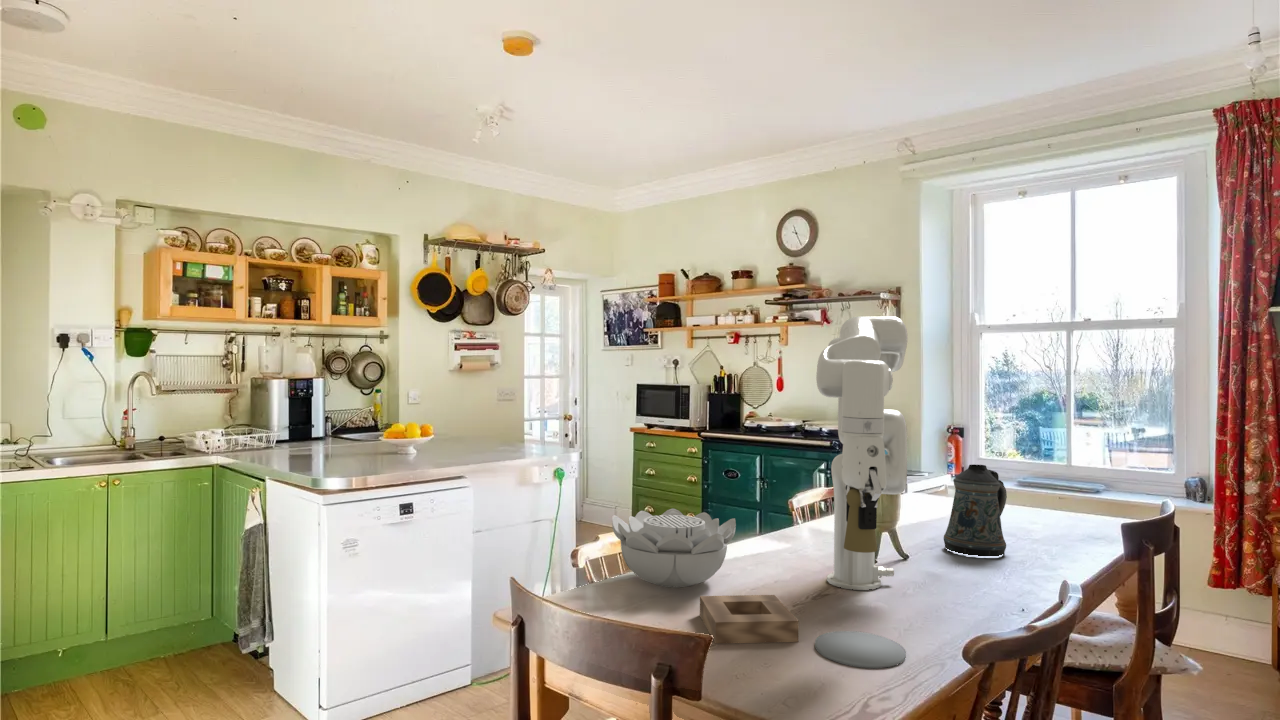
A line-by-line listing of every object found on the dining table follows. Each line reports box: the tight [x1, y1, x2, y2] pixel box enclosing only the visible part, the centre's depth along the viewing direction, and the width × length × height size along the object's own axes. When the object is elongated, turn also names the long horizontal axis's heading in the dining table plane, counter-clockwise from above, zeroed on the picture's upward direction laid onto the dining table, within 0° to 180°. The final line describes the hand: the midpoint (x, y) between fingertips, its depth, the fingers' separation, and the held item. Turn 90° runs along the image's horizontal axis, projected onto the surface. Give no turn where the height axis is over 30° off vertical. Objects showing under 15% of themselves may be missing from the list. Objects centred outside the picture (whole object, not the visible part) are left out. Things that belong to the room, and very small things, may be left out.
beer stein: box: [943, 464, 1008, 556], centre depth 215 cm, size 16×19×25 cm
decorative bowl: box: [611, 508, 737, 588], centre depth 178 cm, size 30×30×15 cm
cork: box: [844, 489, 879, 553], centre depth 137 cm, size 6×6×11 cm
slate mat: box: [814, 630, 907, 669], centre depth 136 cm, size 16×16×1 cm
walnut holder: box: [699, 594, 800, 645], centre depth 147 cm, size 16×16×4 cm
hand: (860, 524), depth 137 cm, fingers closed on cork, 4 cm apart
